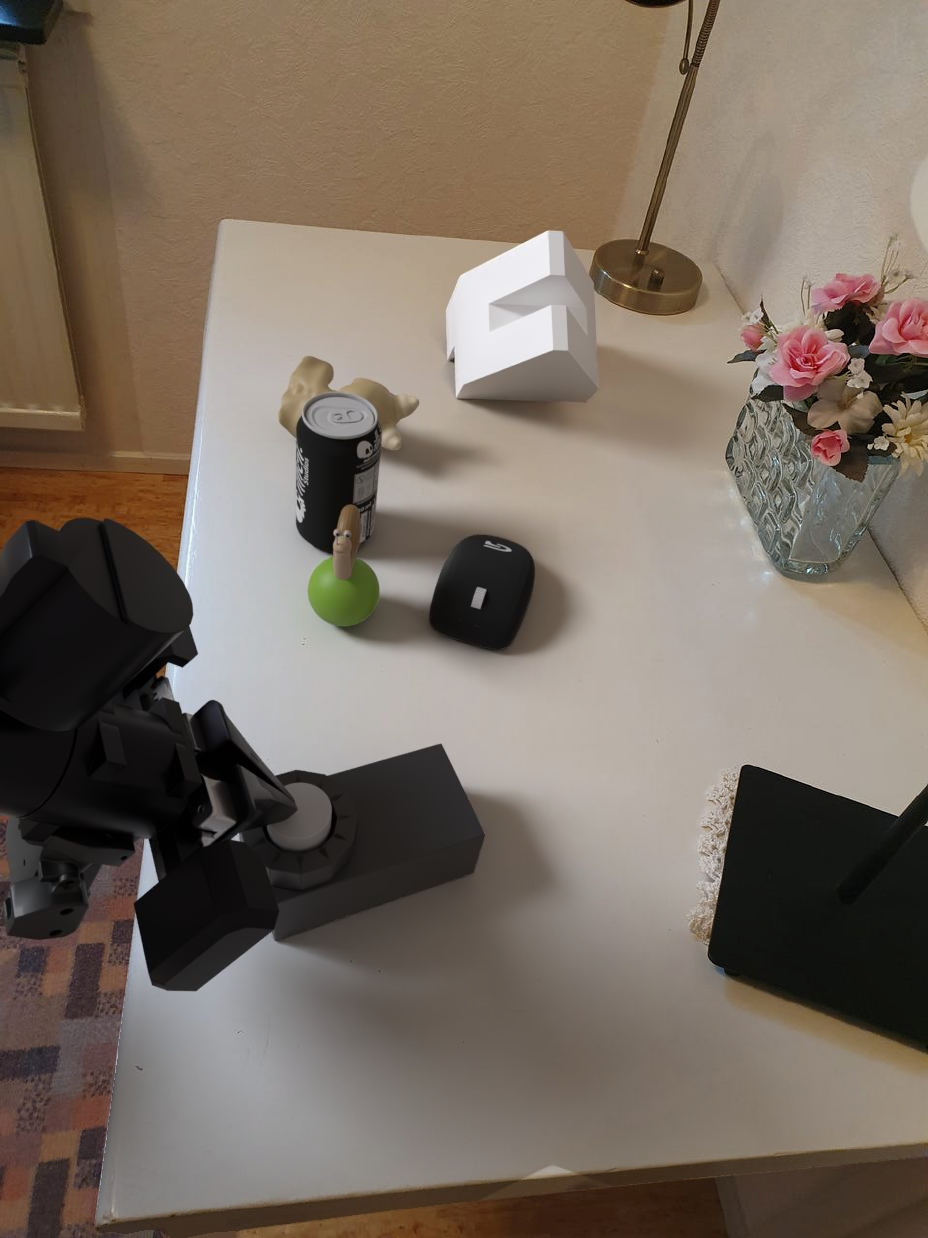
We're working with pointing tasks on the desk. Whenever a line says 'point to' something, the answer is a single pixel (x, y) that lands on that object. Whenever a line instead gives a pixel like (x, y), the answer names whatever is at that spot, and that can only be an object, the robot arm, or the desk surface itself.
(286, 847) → the gray round disc
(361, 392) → the dinosaur figurine
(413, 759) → the push button base
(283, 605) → the desk surface
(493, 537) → the computer mouse
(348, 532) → the snail figurine
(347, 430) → the beverage can
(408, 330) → the desk surface
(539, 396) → the slotted wedge
